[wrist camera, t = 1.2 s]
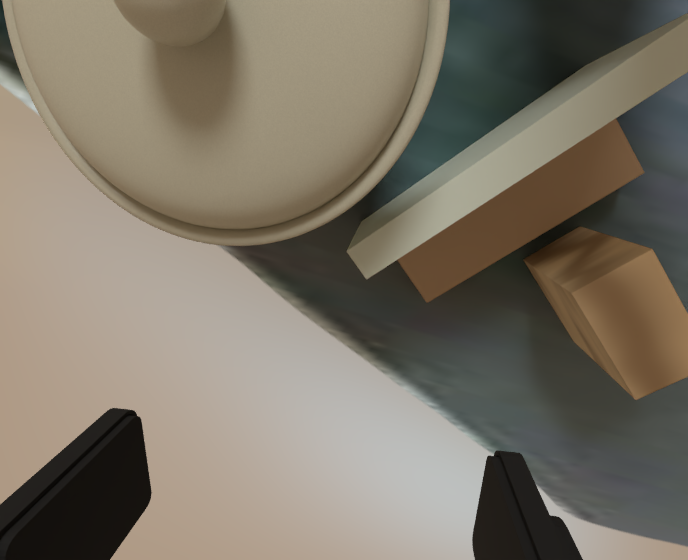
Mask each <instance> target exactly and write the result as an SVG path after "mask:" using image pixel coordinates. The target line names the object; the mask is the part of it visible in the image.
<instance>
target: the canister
mask: <svg viewBox="0 0 688 560" xmlns="http://www.w3.org/2000/svg"><path fill="white" fill-rule="evenodd" d="M2 1H3V8H4V14H5V19H6V24H7V29H8V33H9V37H10V41H11V45H12V48H13V52H14V55H15V58H16V61H17V64H18V67H19V70H20V73H21V75H22V78H23V80H24V83H25V85H26V88H27V90H28V92H29V94H30V96H31V99H32V101H33V103H34V105H35V107H36V109H37V110H38V112H39V114H40V116H41V118H42V120H43V121H44V123H45V124H46V126H47V127H48V130H49V131H50V133H51V134H52V136H53V137H54V139H55V140H56V141H57V143H58V144H59V146H60V147H61V149H62V150H63V151H64V153H65V154H66V155H67V156H68V157H69V159H70V160H71V161H72V163H73V164H74V165H75V166H76V167H77V168H78V169H79V170H80V172H81V173H82V174H83V175H84V176H85V177H86V178H87V179H88V180H89V181H90V182H91V183H92V184H94V186H95V187H96V188H98V189H99V190H100V191H101V192H102V193H103V194H104V195H106V196H107V197H108V198H109V199H111V200H112V201H113V202H114V203H116V204H117V205H118V206H120V207H121V208H123V209H124V210H126V211H127V212H129V213H130V214H132V215H133V216H135V217H137V218H139V219H140V220H142V221H144V222H146V223H148V224H150V225H152V226H154V227H156V228H158V229H160V230H163V231H165V232H168V233H170V234H173V235H176V236H179V237H182V238H185V239H189V240H193V241H197V242H203V243H208V244H215V245H225V246H251V245H261V244H268V243H273V242H278V241H282V240H286V239H290V238H293V237H296V236H299V235H302V234H304V233H307V232H309V231H312V230H314V229H316V228H318V227H320V226H322V225H324V224H326V223H328V222H329V221H331V220H333V219H335V218H336V217H338V216H339V215H341V214H342V213H344V212H345V211H347V210H348V209H350V208H351V207H352V206H353V205H355V204H356V203H357V202H358V201H360V200H361V199H362V198H363V197H364V196H365V195H367V194H368V193H369V192H370V191H371V190H372V189H373V188H374V187H375V186H376V185H377V184H378V183H379V182H380V181H381V180H382V178H383V177H384V176H385V175H386V174H387V173H388V171H389V170H390V169H391V168H392V166H393V165H394V164H395V163H396V161H397V160H398V158H399V157H400V156H401V154H402V153H403V151H404V150H405V148H406V147H407V145H408V143H409V142H410V140H411V138H412V136H413V135H414V133H415V131H416V129H417V127H418V125H419V123H420V121H421V119H422V117H423V115H424V113H425V110H426V108H427V106H428V103H429V101H430V98H431V95H432V93H433V90H434V87H435V84H436V80H437V77H438V74H439V70H440V66H441V62H442V58H443V53H444V48H445V43H446V36H447V29H448V21H449V9H450V0H2Z"/></svg>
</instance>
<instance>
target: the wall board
mask: <svg viewBox="0 0 688 560" xmlns="http://www.w3.org/2000/svg"><path fill="white" fill-rule="evenodd" d="M687 72H688V13H687V14H685V15H683V16H681V17H679V18H677V19H675V20H673V21H671V22H669V23H667V24H665V25H663V26H661V27H660V28H658V29H656V30H654V31H652V32H650V33H648V34H646V35H644V36H642V37H640V38H638V39H636V40H634V41H632V42H630V43H628V44H626V45H624V46H622V47H620V48H619V49H617V50H615V51H613V52H611V53H609V54H607V55H605V56H603V57H601V58H599V59H597V60H595V61H593V62H591V63H589V64H587V65H585V66H584V67H582V68H581V69H579V70H578V71H577V72H575V73H574V74H572V75H571V76H569V77H568V78H567V79H565V80H564V81H562V82H561V83H559V84H558V85H556V86H555V87H554V88H552V89H551V90H549V91H548V92H546V93H545V94H544V95H542V96H541V97H539V98H538V99H536V100H535V101H534V102H532V103H531V104H529V105H528V106H526V107H525V108H524V109H522V110H521V111H519V112H518V113H516V114H515V115H513V116H512V117H511V118H509V119H508V120H506V121H505V122H503V123H502V124H501V125H499V126H498V127H496V128H495V129H493V130H492V131H491V132H489V133H488V134H486V135H485V136H483V137H482V138H480V139H479V140H478V141H476V142H475V143H473V144H472V145H470V146H469V147H468V148H466V149H465V150H463V151H462V152H460V153H459V154H458V155H456V156H455V157H453V158H452V159H450V160H449V161H447V162H446V163H445V164H443V165H442V166H440V167H439V168H437V169H436V170H435V171H433V172H432V173H430V174H429V175H427V176H426V177H425V178H423V179H422V180H420V181H419V182H417V183H416V184H414V185H413V186H412V187H410V188H409V189H407V190H406V191H404V192H403V193H402V194H400V195H399V196H397V197H396V198H394V199H393V200H392V201H390V202H389V203H387V204H386V205H384V206H383V207H381V208H380V209H379V210H377V211H376V212H374V213H373V214H371V215H370V216H369V217H367V218H366V219H364V220H363V221H361V223H360V225H359V227H358V229H357V231H356V233H355V235H354V237H353V239H352V241H351V243H350V245H349V247H348V249H347V251H346V252H347V253H348V254H349V256H350V257H351V259H352V260H353V261H354V263H355V264H356V266H357V267H358V268H359V270H360V271H361V273H362V274H363V275H364V277H365V278H366V280H367V279H368V278H370V277H371V276H373V275H374V274H376V273H377V272H379V271H381V270H382V269H384V268H385V267H387V266H388V265H390V264H391V263H393V262H394V261H396V260H398V262H399V263H400V265H401V266H402V268H403V269H404V270H405V272H406V273H407V275H408V276H409V278H410V279H411V281H412V282H413V284H414V285H415V286H416V288H417V289H418V291H419V292H420V294H421V295H422V297H423V298H424V300H425V301H426V302H427V303H428V302H430V301H431V300H433V299H435V298H436V297H438V296H440V295H441V294H443V293H445V292H446V291H448V290H450V289H451V288H453V287H455V286H456V285H458V284H460V283H461V282H463V281H465V280H466V279H468V278H470V277H471V276H473V275H475V274H476V273H478V272H480V271H481V270H483V269H485V268H486V267H488V266H490V265H491V264H493V263H495V262H496V261H498V260H500V259H501V258H503V257H505V256H506V255H508V254H510V253H511V252H513V251H515V250H516V249H518V248H520V247H521V246H523V245H525V244H526V243H528V242H530V241H531V240H533V239H535V238H536V237H538V236H540V235H541V234H543V233H545V232H546V231H548V230H550V229H551V228H553V227H555V226H556V225H558V224H560V223H561V222H563V221H565V220H566V219H568V218H570V217H571V216H573V215H575V214H576V213H578V212H580V211H581V210H583V209H585V208H587V207H588V206H590V205H592V204H593V203H595V202H597V201H598V200H600V199H602V198H603V197H605V196H607V195H608V194H610V193H612V192H613V191H615V190H617V189H618V188H620V187H622V186H623V185H625V184H627V183H628V182H630V181H632V180H633V179H635V178H637V177H638V176H640V175H642V174H643V173H644V171H643V169H642V167H641V165H640V163H639V161H638V159H637V157H636V156H635V154H634V152H633V150H632V148H631V146H630V144H629V142H628V140H627V138H626V137H625V135H624V133H623V131H622V129H621V127H620V125H619V123H618V121H617V119H616V118H617V117H619V116H620V115H622V114H623V113H625V112H626V111H628V110H629V109H631V108H632V107H634V106H636V105H637V104H639V103H640V102H642V101H643V100H645V99H646V98H648V97H649V96H651V95H653V94H654V93H656V92H657V91H659V90H660V89H662V88H663V87H665V86H666V85H668V84H670V83H671V82H673V81H674V80H676V79H677V78H679V77H680V76H682V75H683V74H685V73H687Z"/></svg>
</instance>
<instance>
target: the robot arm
mask: <svg viewBox="0 0 688 560" xmlns="http://www.w3.org/2000/svg"><path fill="white" fill-rule="evenodd" d="M145 451H146V450H145V443H144V436H143V429H142V422H141V419H140V417H138V416H137V414H136V412H135V411H133V410H127V409H118V408H112V409H110V410H108V411H107V412H106V413H104V414H103V415H102V416H101V417H100V418H99V419H98V420H96V422H94V423H93V424H92V425H91V426H90V427H88V428H87V429H86V430H85V431H84V432H83V433H82V434H81V435H79V436H78V437H77V438H76V439H75V440H74V441H72V442H71V443H70V444H69V445H68V446H67V447H66V448H64V449H63V450H62V451H61V452H60V453H59V454H58V455H56V456H55V457H54V458H53V459H52V460H51V461H50V462H49V463H47V464H46V465H45V466H44V467H43V468H42V469H41V470H39V471H38V472H37V473H36V474H35V475H34V476H32V477H31V478H30V479H29V480H28V481H27V482H26V483H24V484H23V485H22V486H21V487H20V488H19V489H18V490H16V491H15V492H14V493H13V494H12V495H11V496H10V497H8V498H7V499H6V500H5V501H4V502H3V503H2V504H1V505H0V560H110V559H111V557H112V556H113V554H114V553H115V552H116V550H117V549H118V547H119V546H120V545H121V543H122V542H123V540H124V539H125V537H126V536H127V535H128V533H129V532H130V530H131V529H132V527H133V526H134V525H135V523H136V522H137V520H138V519H139V518H140V516H141V515H142V513H143V512H144V511H145V509H146V507H147V506H148V504H149V502H150V499H151V486H150V479H149V472H148V464H147V457H146V452H145ZM473 551H474V557H475V560H583V559H582V557H581V555H580V553H579V551H578V549H577V547H576V545H575V543H574V541H573V539H572V537H571V535H570V532H569V530H568V528H567V527H566V525H565V523H564V522H563V520H562V519H561V518H559V517H556V516H550V515H549V513H548V511H547V509H546V506H545V504H544V502H543V500H542V498H541V495H540V493H539V491H538V489H537V486H536V484H535V482H534V480H533V478H532V476H531V473H530V471H529V469H528V467H527V465H526V462H525V460H524V458H523V456H522V455H521V454H520V453H515V452H506V451H496V452H495V454H494V456H488V457H487V460H486V466H485V471H484V477H483V482H482V487H481V493H480V498H479V504H478V509H477V514H476V520H475V525H474V531H473Z"/></svg>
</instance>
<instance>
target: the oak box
mask: <svg viewBox="0 0 688 560" xmlns="http://www.w3.org/2000/svg"><path fill="white" fill-rule="evenodd" d="M523 260H524V262H525V264H526V265H527V267H528V268H529V270H530V272H531V273H532V275H533V277H534V278H535V280H536V281H537V283H538V285H539V286H540V288H541V289H542V291H543V293H544V294H545V296H546V298H547V299H548V301H549V302H550V304H551V306H552V307H553V309H554V311H555V312H556V314H557V315H558V317H559V319H560V320H561V322H562V323H563V325H564V327H565V328H566V330H567V332H568V333H569V335H570V336H571V338H572V340H573V341H574V342H575V343H576V344H577V345H578V346H579V347H580V348H581V349H582V350H583V351H584V352H585V353H587V354H588V355H589V356H590V357H591V358H592V359H593V360H594V361H595V362H596V363H597V364H598V365H599V366H600V367H601V368H602V369H603V370H605V371H606V372H607V373H608V374H609V375H610V376H611V377H612V378H613V379H614V380H615V381H616V382H617V383H618V384H619V385H620V386H621V387H623V388H624V389H625V390H626V391H627V392H628V393H629V394H630V395H631V396H632V397H633V398H634V399H635V400H637V399H639V398H642V397H644V396H646V395H648V394H650V393H653V392H655V391H657V390H659V389H662V388H664V387H666V386H668V385H670V384H673V383H675V382H677V381H679V380H681V379H684V378H686V377H688V313H687V312H686V310H685V308H684V306H683V304H682V302H681V301H680V299H679V297H678V295H677V293H676V291H675V290H674V288H673V286H672V284H671V282H670V280H669V278H668V277H667V275H666V273H665V271H664V269H663V267H662V266H661V264H660V262H659V260H658V258H657V256H656V254H655V253H654V251H653V249H651V248H648V247H645V246H641V245H638V244H635V243H632V242H629V241H625V240H622V239H619V238H616V237H613V236H609V235H606V234H603V233H600V232H597V231H593V230H590V229H587V228H584V227H581V226H579V227H578V228H576V229H574V230H573V231H571V232H569V233H567V234H566V235H564V236H562V237H561V238H559V239H557V240H556V241H554V242H552V243H550V244H549V245H547V246H545V247H544V248H542V249H540V250H539V251H537V252H535V253H533V254H532V255H530V256H528V257H527V258H525V259H523Z"/></svg>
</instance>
